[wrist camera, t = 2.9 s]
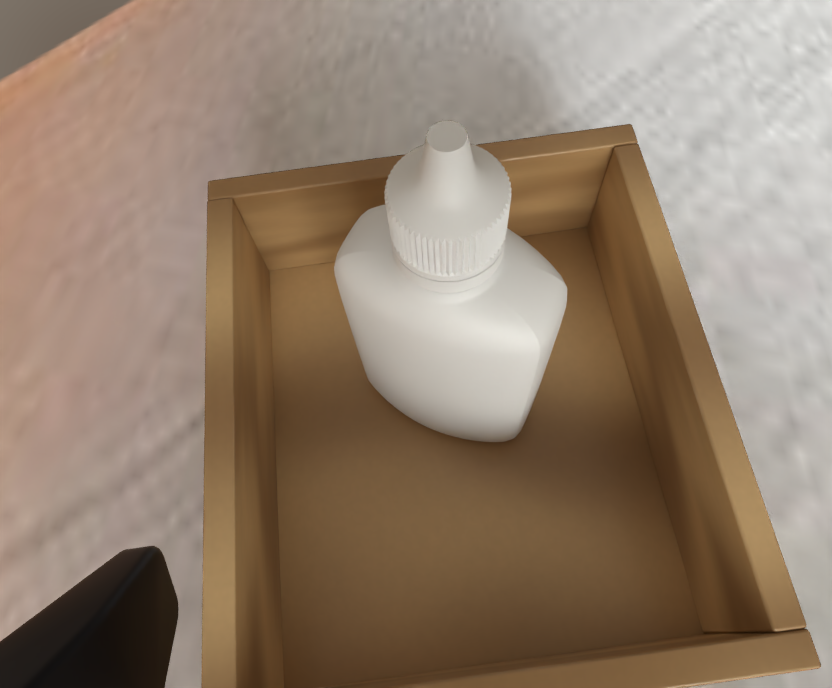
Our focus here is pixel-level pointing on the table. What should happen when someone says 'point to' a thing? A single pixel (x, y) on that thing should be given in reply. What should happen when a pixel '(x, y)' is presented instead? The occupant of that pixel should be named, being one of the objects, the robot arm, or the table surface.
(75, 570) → the table surface
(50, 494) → the table surface
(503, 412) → the eye dropper bottle
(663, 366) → the crate
